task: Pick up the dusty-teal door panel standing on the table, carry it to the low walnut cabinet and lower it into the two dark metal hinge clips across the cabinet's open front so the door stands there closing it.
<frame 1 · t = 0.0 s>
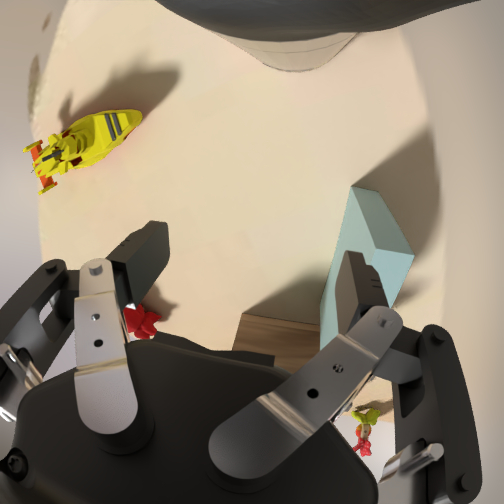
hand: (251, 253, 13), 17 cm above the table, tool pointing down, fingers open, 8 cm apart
figurine: (128, 308, 44), on the table
toy boat: (96, 137, 28), on the table
door: (347, 253, 31), on the table
cabinet: (284, 362, 44), on the table
bird rattle: (364, 412, 51), on the table
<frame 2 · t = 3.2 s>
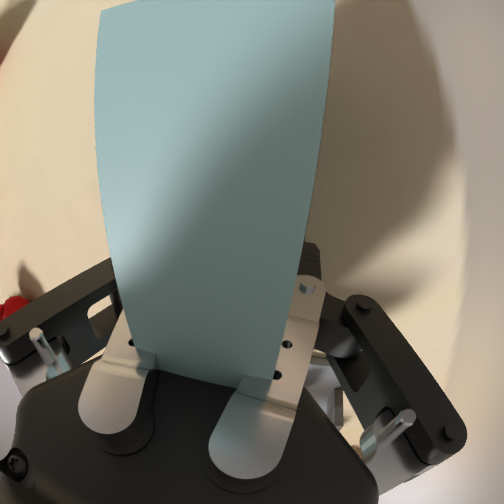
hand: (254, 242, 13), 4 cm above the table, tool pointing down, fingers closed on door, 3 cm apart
figurine: (29, 310, 29), on the table
door: (265, 211, 16), on the table, touching gripper
cabinet: (206, 394, 28), on the table
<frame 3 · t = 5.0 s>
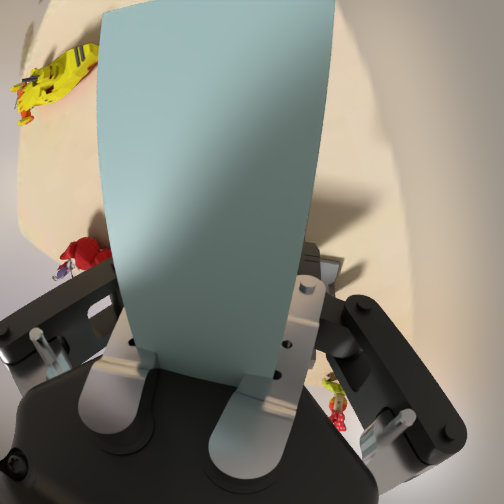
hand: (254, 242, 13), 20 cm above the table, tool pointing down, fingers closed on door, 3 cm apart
figurine: (90, 255, 43), on the table
toy boat: (70, 79, 28), on the table
door: (265, 212, 17), point 16 cm above the table, touching gripper
cabinet: (236, 304, 42), on the table
bird rattle: (339, 383, 49), on the table
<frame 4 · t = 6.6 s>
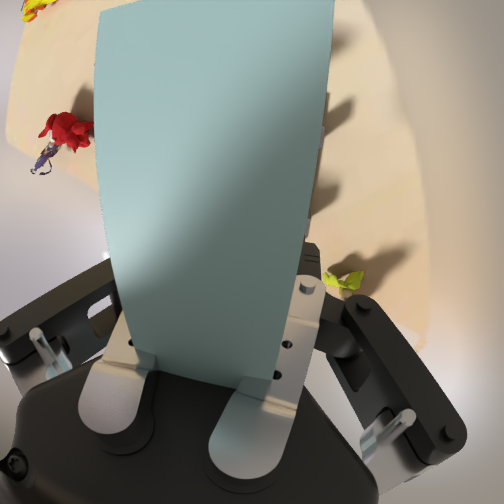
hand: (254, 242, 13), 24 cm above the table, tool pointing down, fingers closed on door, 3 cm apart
figurine: (70, 141, 37), on the table
door: (265, 212, 16), point 20 cm above the table, touching gripper
bird rattle: (344, 285, 43), on the table
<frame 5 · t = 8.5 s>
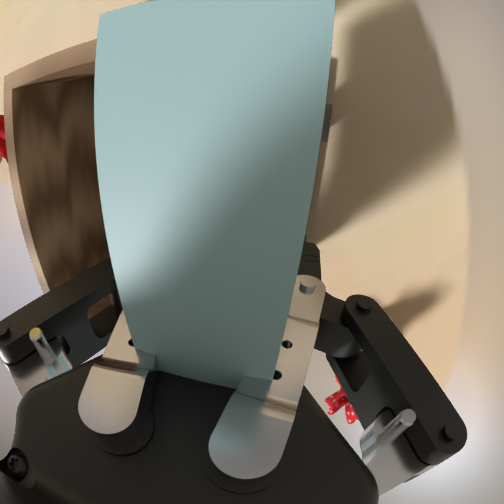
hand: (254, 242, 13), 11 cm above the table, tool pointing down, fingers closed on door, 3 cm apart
figurine: (10, 150, 25), on the table
door: (265, 213, 16), point 7 cm above the table, touching gripper
cabinet: (163, 167, 24), on the table
bird rattle: (350, 338, 31), on the table
when the fingers open (5 cm above the table, at t = 10.1 s): door stays where it is, resting on cabinet.
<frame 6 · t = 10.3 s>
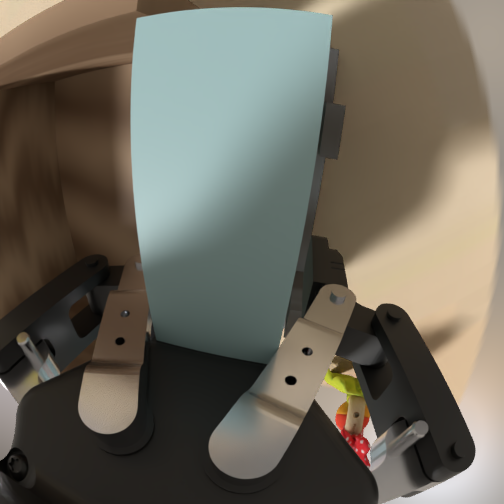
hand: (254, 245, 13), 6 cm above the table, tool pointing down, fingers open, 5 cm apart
door: (267, 206, 17), point 1 cm above the table, touching cabinet
cabinet: (130, 186, 19), on the table
bird rattle: (354, 376, 26), on the table
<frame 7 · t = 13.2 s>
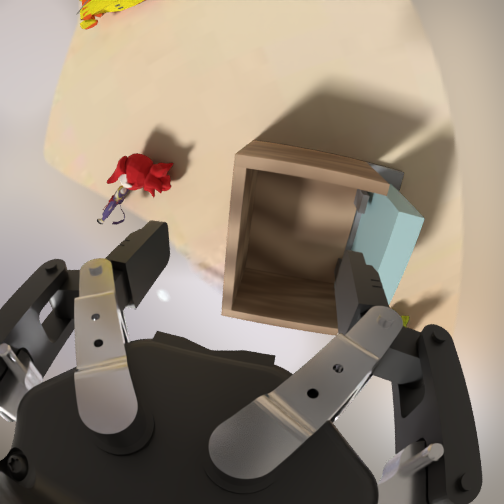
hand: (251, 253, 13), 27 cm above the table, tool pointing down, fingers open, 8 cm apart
figurine: (141, 185, 41), on the table
door: (366, 234, 38), point 1 cm above the table, touching cabinet
cabinet: (297, 218, 40), on the table
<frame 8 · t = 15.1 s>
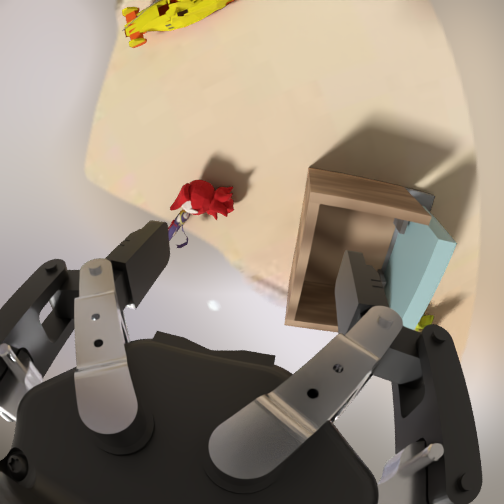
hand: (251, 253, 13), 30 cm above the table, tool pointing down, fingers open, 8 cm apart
figurine: (199, 207, 46), on the table
toy boat: (189, 13, 29), on the table
door: (401, 248, 42), point 1 cm above the table, touching cabinet
cabinet: (344, 236, 44), on the table
bird rattle: (415, 324, 51), on the table
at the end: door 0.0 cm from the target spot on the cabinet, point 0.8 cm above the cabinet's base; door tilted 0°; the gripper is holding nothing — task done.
